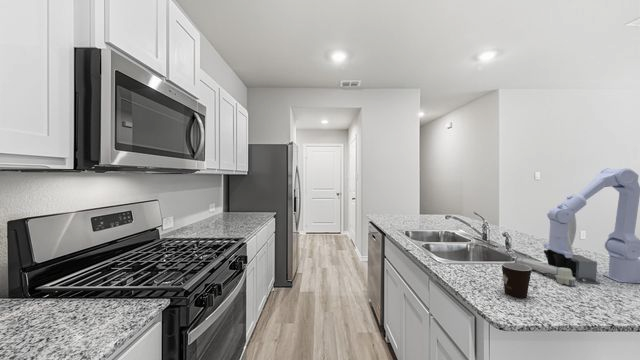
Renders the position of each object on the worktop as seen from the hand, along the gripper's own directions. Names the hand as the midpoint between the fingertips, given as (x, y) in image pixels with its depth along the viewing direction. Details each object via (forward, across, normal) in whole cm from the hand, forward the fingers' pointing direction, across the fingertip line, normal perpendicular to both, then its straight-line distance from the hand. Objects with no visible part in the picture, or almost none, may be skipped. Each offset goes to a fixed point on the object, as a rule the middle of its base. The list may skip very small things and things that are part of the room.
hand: (556, 270), depth 118 cm
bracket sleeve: (+2, 0, +8) cm, 8 cm away
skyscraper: (+2, -23, +17) cm, 29 cm away
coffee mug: (+3, +21, -25) cm, 32 cm away
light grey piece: (+3, -1, -4) cm, 5 cm away
